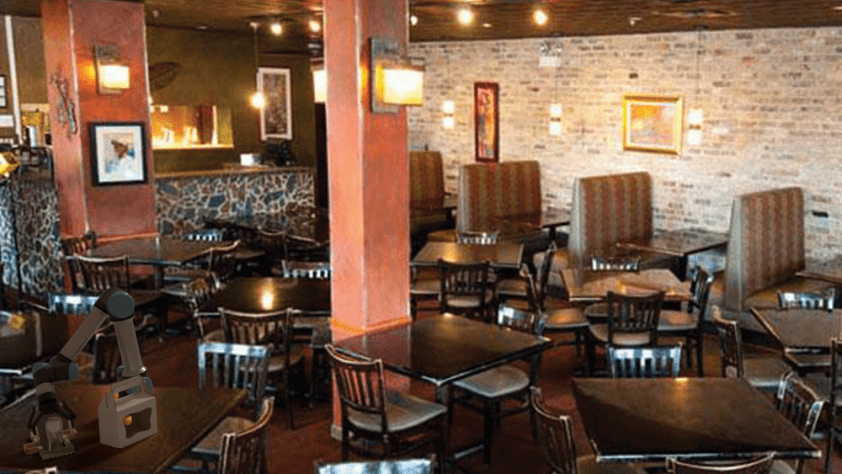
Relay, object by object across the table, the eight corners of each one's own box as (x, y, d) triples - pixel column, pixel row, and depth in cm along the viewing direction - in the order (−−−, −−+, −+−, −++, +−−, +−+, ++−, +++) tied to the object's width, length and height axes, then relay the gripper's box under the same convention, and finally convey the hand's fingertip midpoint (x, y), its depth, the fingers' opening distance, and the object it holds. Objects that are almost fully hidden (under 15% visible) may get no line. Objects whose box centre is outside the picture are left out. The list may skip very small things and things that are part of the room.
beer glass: (58, 455, 366) (55, 422, 363) (44, 453, 367) (41, 421, 365) (68, 448, 373) (65, 416, 370) (54, 447, 374) (51, 415, 372)
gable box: (119, 449, 371) (115, 389, 367) (99, 443, 378) (95, 384, 374) (158, 432, 390) (154, 375, 386) (138, 427, 397) (135, 370, 393)
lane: (30, 437, 386) (29, 429, 385) (60, 430, 393) (59, 423, 392) (42, 460, 360) (42, 452, 360) (74, 453, 368) (74, 445, 367)
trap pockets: (20, 444, 377) (20, 439, 377) (74, 433, 390) (74, 428, 390) (26, 455, 366) (25, 449, 365) (81, 443, 378) (81, 437, 378)
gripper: (74, 393, 386) (84, 435, 376) (15, 404, 372) (23, 448, 362) (76, 385, 381) (86, 427, 371) (16, 396, 367) (25, 440, 357)
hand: (55, 437), depth 367 cm, fingers open, 13 cm apart
